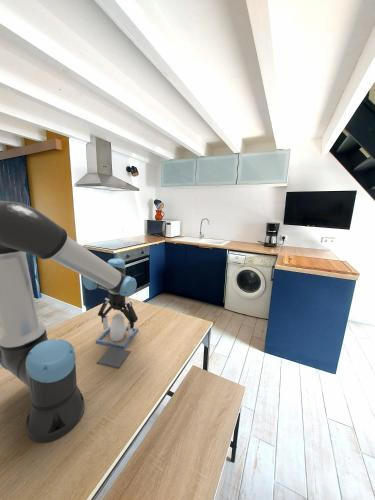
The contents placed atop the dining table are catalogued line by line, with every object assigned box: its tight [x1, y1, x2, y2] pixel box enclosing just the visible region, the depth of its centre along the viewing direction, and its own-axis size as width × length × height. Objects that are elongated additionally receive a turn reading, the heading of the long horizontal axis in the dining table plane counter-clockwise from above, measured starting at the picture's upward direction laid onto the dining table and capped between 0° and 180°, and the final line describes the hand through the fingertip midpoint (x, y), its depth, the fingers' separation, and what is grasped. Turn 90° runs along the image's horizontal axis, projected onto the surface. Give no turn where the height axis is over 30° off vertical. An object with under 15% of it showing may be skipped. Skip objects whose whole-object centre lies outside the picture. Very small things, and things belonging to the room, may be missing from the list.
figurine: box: [109, 312, 127, 342], centre depth 102 cm, size 7×8×12 cm
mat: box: [96, 346, 131, 369], centre depth 90 cm, size 10×10×1 cm
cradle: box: [95, 325, 139, 350], centre depth 103 cm, size 14×14×2 cm
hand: (117, 331), depth 103 cm, fingers open, 13 cm apart
